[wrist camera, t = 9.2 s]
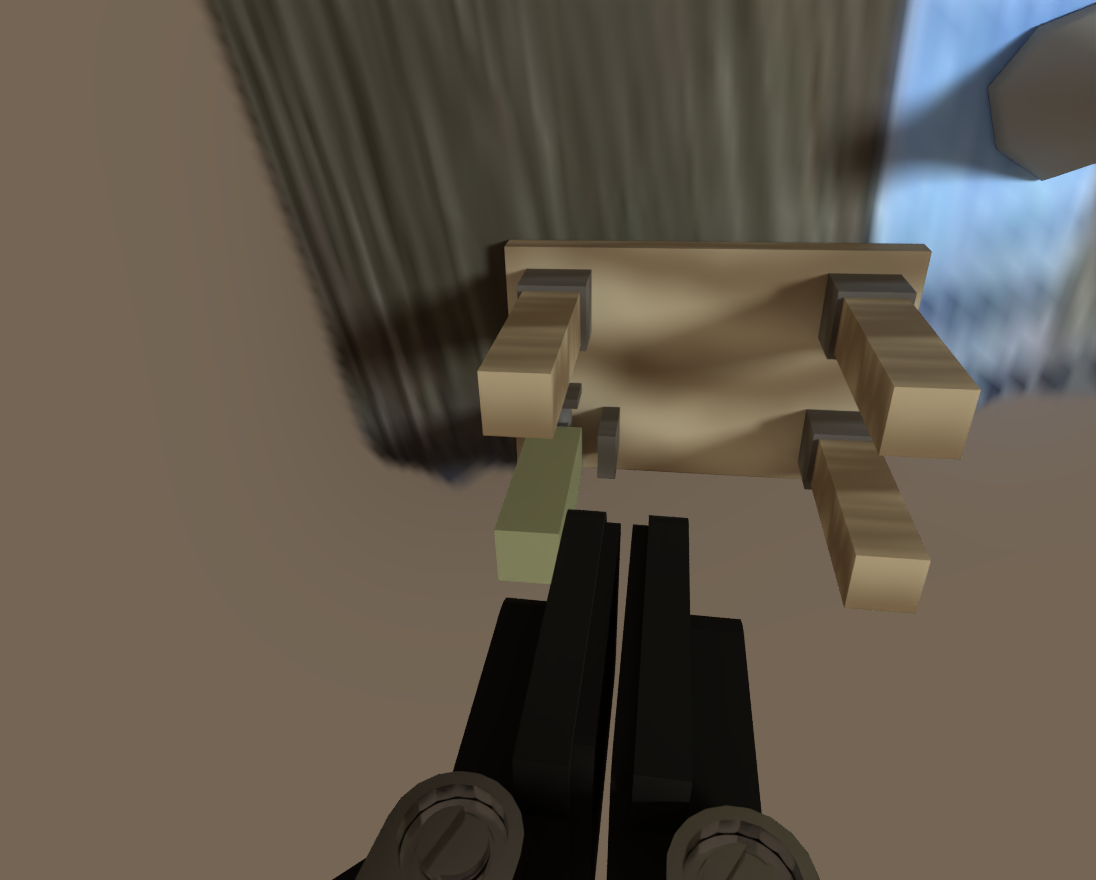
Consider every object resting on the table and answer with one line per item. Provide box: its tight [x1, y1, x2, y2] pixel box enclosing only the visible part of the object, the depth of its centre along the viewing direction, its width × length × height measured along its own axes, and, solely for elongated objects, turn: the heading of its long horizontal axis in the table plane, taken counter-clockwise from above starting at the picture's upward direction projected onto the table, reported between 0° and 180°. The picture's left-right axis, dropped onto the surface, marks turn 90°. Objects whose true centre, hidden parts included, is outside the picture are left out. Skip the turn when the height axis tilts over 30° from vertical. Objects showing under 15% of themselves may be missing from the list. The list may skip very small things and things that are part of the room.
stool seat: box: [478, 240, 981, 614], centre depth 37 cm, size 14×22×14 cm, turn 92°
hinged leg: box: [494, 409, 582, 584], centre depth 40 cm, size 4×3×13 cm
